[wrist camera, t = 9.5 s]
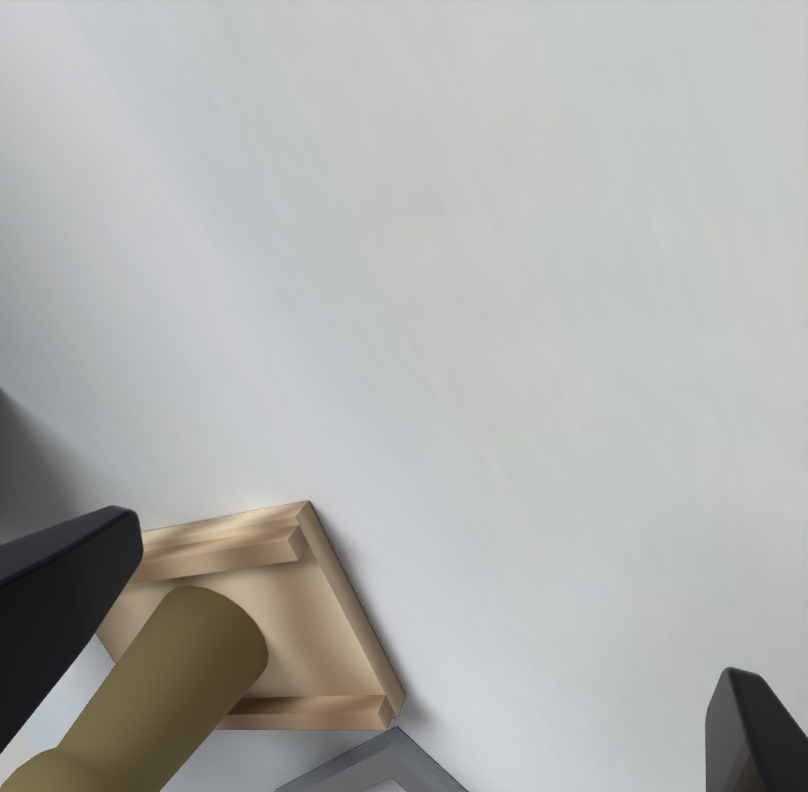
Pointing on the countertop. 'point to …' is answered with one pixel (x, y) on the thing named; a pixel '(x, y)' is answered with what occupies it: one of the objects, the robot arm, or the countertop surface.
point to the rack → (272, 617)
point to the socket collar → (378, 769)
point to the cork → (155, 700)
